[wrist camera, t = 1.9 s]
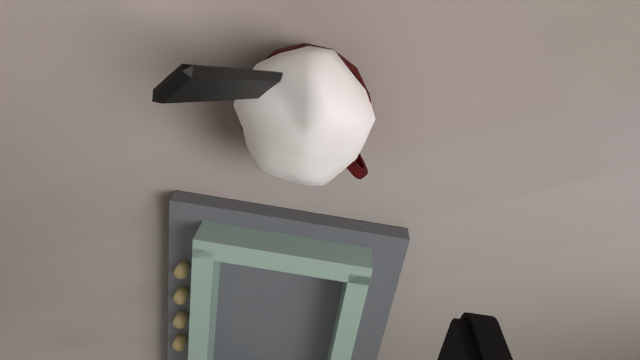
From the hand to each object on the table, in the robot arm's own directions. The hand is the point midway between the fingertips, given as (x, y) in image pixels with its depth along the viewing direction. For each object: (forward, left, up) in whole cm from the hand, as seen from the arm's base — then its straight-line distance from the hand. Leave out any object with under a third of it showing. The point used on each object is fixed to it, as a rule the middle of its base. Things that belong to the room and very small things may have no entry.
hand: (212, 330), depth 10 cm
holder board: (0, +15, -18) cm, 24 cm away
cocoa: (0, 0, -18) cm, 18 cm away
